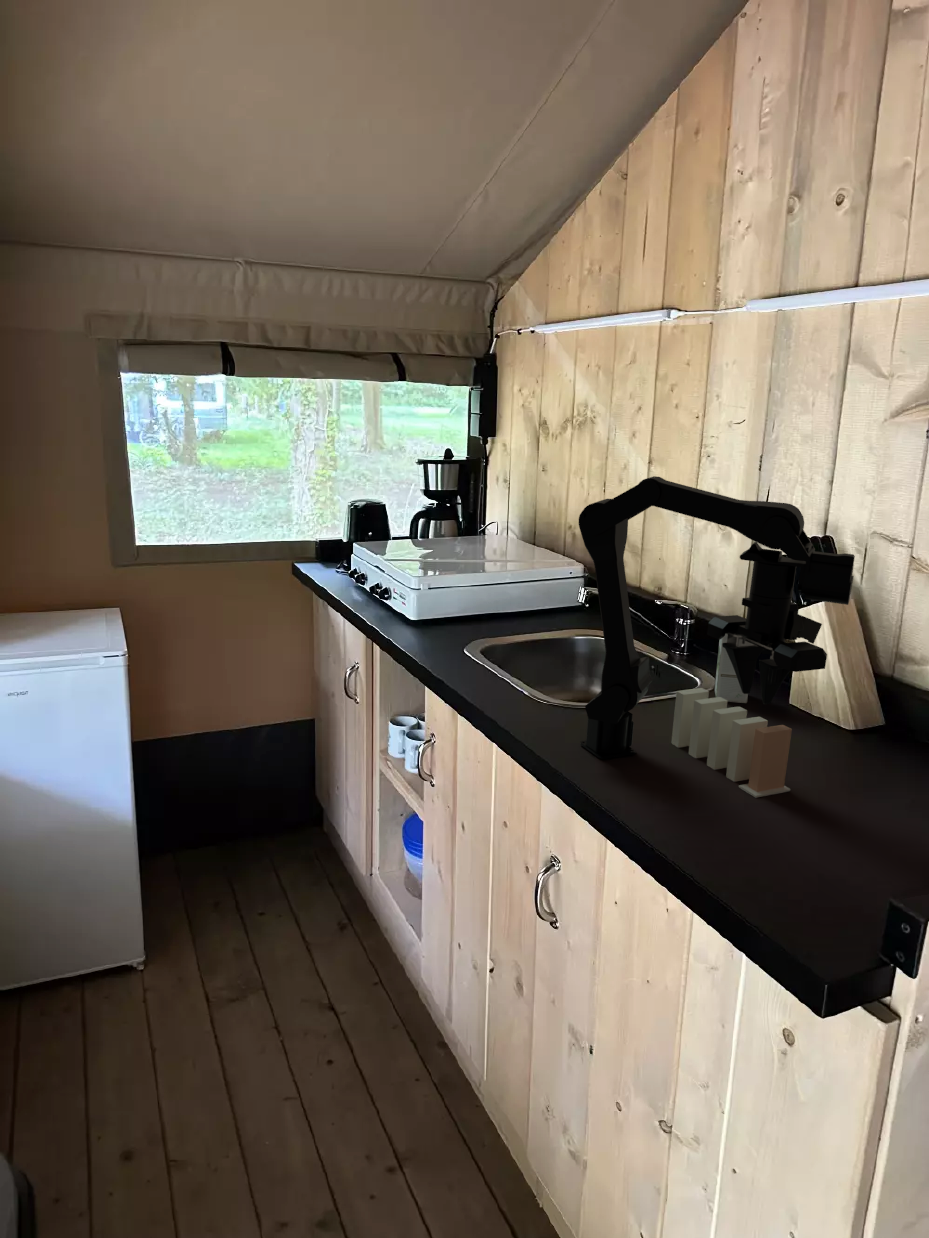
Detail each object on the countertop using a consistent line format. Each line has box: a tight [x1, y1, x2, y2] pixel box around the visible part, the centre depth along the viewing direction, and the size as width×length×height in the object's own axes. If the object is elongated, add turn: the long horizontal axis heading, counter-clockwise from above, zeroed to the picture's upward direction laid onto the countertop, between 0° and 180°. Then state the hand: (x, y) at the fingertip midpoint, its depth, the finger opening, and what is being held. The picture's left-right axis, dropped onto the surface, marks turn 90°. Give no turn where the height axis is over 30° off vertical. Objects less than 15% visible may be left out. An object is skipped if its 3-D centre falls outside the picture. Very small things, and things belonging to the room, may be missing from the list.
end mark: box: [738, 783, 791, 798], centre depth 132 cm, size 6×4×1 cm, turn 114°
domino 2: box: [688, 696, 728, 759], centre depth 142 cm, size 2×5×9 cm, turn 114°
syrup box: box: [714, 634, 749, 704], centre depth 169 cm, size 6×6×14 cm
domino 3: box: [706, 706, 748, 771], centre depth 138 cm, size 2×5×9 cm, turn 114°
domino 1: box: [671, 687, 710, 749], centre depth 146 cm, size 2×5×9 cm, turn 114°
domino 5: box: [748, 724, 793, 792], centre depth 131 cm, size 2×5×9 cm, turn 113°
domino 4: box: [725, 716, 769, 783], centre depth 135 cm, size 2×5×9 cm, turn 114°
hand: (756, 698), depth 132 cm, fingers open, 4 cm apart
